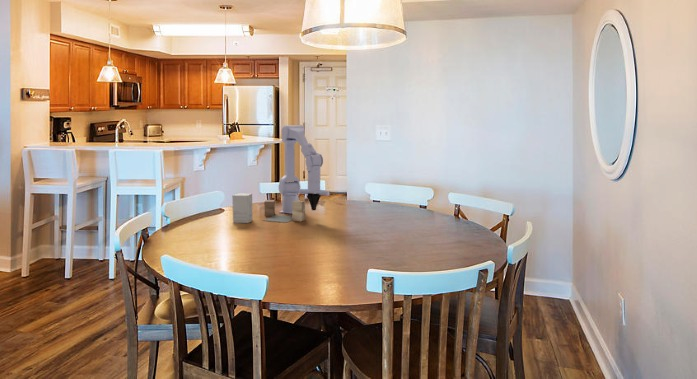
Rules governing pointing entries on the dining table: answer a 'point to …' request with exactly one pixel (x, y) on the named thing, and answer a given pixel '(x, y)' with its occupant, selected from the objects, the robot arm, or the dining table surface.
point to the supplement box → (242, 208)
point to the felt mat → (279, 218)
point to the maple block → (298, 210)
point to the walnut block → (269, 207)
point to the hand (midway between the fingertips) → (313, 210)
